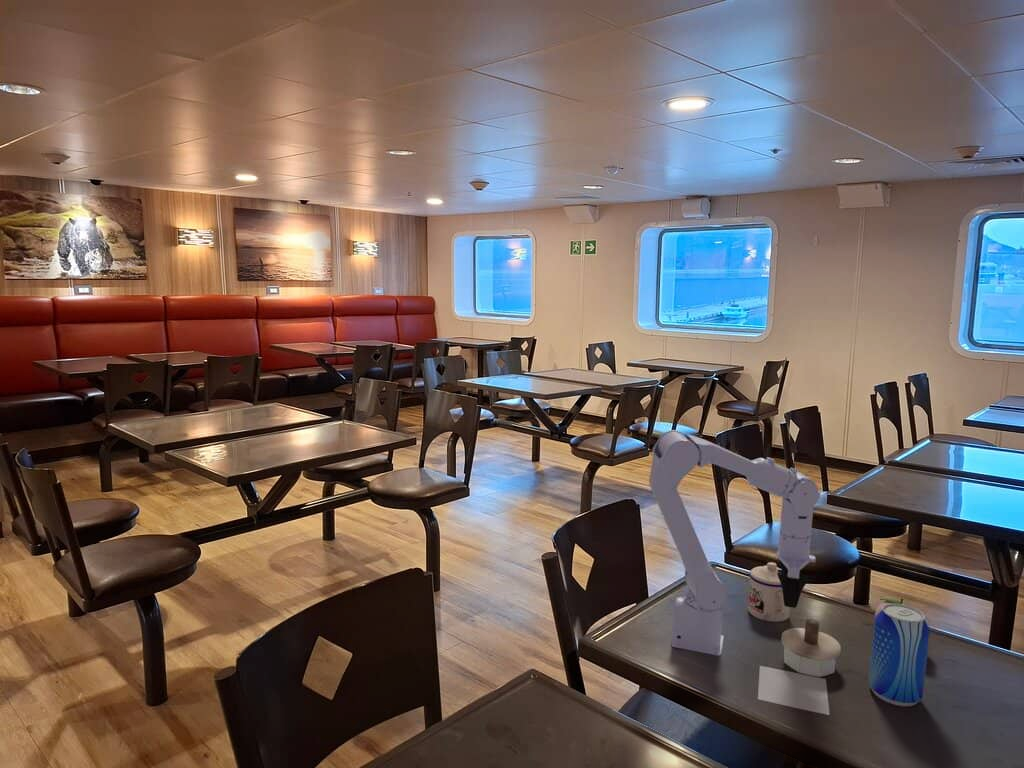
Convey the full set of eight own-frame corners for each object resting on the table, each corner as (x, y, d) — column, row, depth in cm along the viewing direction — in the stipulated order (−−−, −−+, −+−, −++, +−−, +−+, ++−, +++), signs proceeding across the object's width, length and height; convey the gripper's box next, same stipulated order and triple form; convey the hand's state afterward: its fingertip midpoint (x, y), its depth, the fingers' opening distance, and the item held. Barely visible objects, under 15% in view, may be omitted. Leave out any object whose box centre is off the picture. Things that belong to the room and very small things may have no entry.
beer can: (929, 713, 118) (939, 626, 116) (876, 706, 120) (885, 620, 117) (911, 685, 126) (920, 603, 124) (862, 679, 128) (870, 598, 125)
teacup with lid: (740, 604, 157) (743, 555, 155) (778, 603, 158) (781, 554, 156) (764, 630, 145) (768, 578, 144) (805, 629, 146) (809, 577, 144)
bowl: (784, 671, 130) (785, 651, 129) (784, 648, 138) (785, 630, 138) (835, 682, 127) (837, 661, 126) (832, 658, 135) (833, 639, 134)
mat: (757, 701, 121) (757, 699, 121) (759, 667, 131) (759, 665, 131) (829, 717, 117) (829, 714, 117) (825, 681, 127) (825, 679, 127)
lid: (782, 653, 129) (784, 629, 128) (780, 627, 138) (782, 605, 138) (843, 664, 125) (845, 640, 125) (837, 637, 135) (839, 614, 134)
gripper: (819, 549, 128) (813, 618, 130) (815, 524, 141) (810, 586, 143) (778, 543, 130) (773, 611, 132) (778, 519, 144) (774, 581, 146)
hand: (790, 598), depth 138 cm, fingers open, 7 cm apart
